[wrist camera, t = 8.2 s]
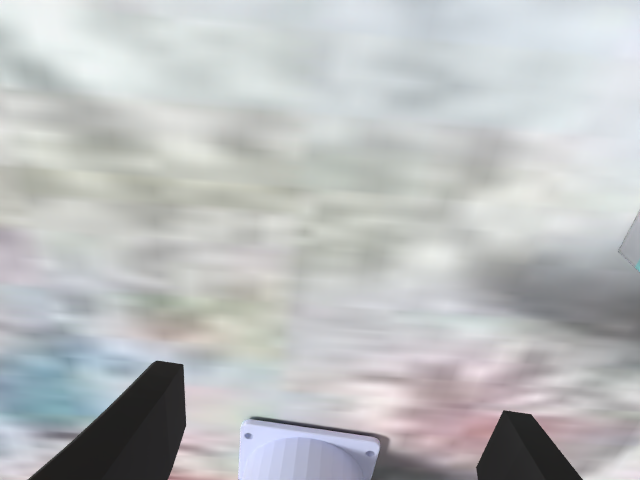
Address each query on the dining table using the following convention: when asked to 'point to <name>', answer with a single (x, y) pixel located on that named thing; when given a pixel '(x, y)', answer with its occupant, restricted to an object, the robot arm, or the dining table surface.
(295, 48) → the dining table surface
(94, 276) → the dining table surface
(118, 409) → the robot arm
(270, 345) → the dining table surface
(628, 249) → the base brick
